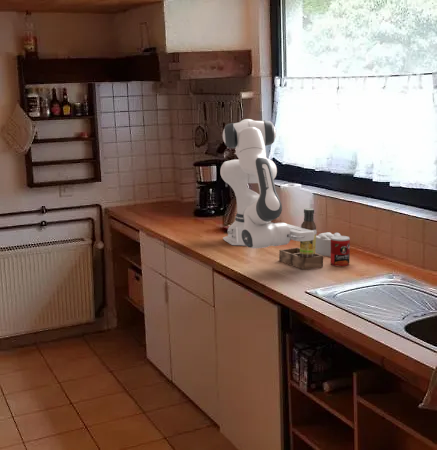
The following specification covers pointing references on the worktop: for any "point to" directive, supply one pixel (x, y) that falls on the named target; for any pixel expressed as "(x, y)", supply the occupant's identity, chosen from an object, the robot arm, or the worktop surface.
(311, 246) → the sauce bottle
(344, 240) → the canned food
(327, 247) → the lumpy-topped squat cylinder
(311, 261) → the box
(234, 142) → the robot arm
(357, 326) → the worktop surface
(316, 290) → the worktop surface
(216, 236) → the worktop surface
